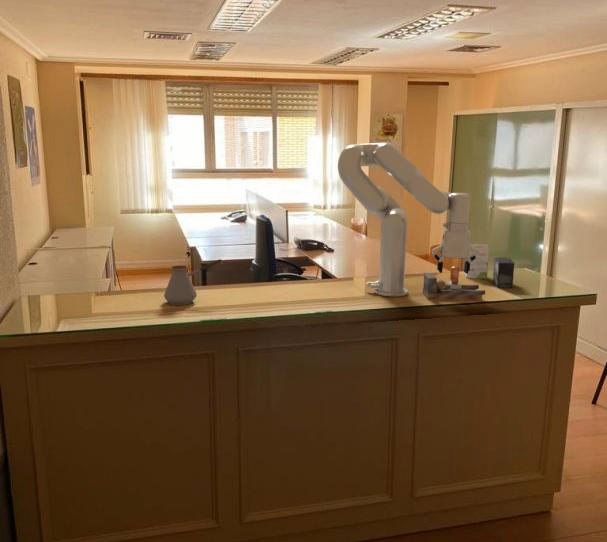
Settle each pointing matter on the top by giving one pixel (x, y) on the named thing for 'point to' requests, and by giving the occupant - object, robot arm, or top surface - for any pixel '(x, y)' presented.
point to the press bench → (450, 291)
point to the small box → (503, 272)
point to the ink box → (479, 262)
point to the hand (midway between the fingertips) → (453, 272)
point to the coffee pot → (182, 285)
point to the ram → (454, 279)
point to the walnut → (440, 285)
